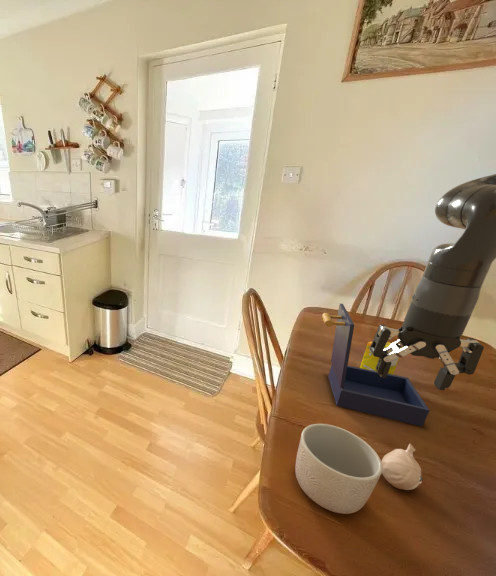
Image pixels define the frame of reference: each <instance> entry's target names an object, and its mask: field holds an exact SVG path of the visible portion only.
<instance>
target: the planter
mask: <svg viewBox="0 0 496 576" xmlns="http://www.w3.org/2000/svg"><path fill="white" fill-rule="evenodd" d="M381 461H382V459H381V458H380V456H379V455H378V453H377V452H376V450H375V449H374V448H373V447H372V446H371V445H370V444H369V443H368V442H367V441H365V440H364V439H362V438H361V437H359V436H358V435H356V434H354V433H353V432H351V431H349V430H347V429H344V428H342V427H339V426H337V425H332V424H328V423H312V424H309V425H307V426H306V427H304V428H303V430H302V432H301V435H300V440H299V444H298V449H297V452H296V459H295V467H294V469H295V477H296V480H297V483H298V484H299V486H300V488H301V489H302V491H303V493H304V494H305V495H306V496H307V497H309V499H310V500H312V502H313V503H315V504H317V505H318V506H320V507H321V508H324V510H327V511H330V512H331V513H332V512H333V513H336V514H340V515H341V514H342V515H350V514H354V513H357V512H358V511H360V510H361V509H362V508H363V507H364V506H365V505H366V504H367V502H368V500H369V499H370V497H371V495H372V494H373V492H374V489H375V488H376V486H377V483H378V481H379V479H380V478H381V476H382V475H383V474H382V470H383V466H382V462H381Z"/></svg>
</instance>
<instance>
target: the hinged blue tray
mask: <svg viewBox="0 0 496 576" xmlns="http://www.w3.org/2000/svg"><path fill="white" fill-rule="evenodd" d="M330 365H331V366H330V368H329V372H328V375H327V378H328V381H329V384H330V388H331V391H332V395H333V398H334V402H335V406H337V407H341V408H345V409H350V410H353V411H357V412H362V413H366V414H369V415H374V416H378V417H381V418H385V419H389V420H394V421H397V422H402V423H406V424H410V425H415V426H418V427H423V426H424V424H425V423H426V420H427V418H428V415H429V413H430V411H431V410H430V409H429V407H428V405H427V404H426V403H425V401H424V400H423V398H422V396H421V395H420V394H419V392H418V391H417V389H416V388H415V386H414V384H413V383H412V381H411V380H410V379H409V377H407V376H401V375H395V374H393V375H392V374H387V377H386V378H382V377H380V375H379V374H378V372H377V371H372V370H367V369H362V368H360V367H357V366H352V365H348V366H347V372H346V378H345V384H344V389H341V388H340V387H339V383H338V380H337V377H336V374H335V371H334V368H333V365H332V364H330Z"/></svg>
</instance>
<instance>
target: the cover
mask: <svg viewBox="0 0 496 576" xmlns="http://www.w3.org/2000/svg"><path fill="white" fill-rule="evenodd" d="M337 310H338V311H337V315H333V314H330V313H329V312H323V313H322V314H321V317H322V320H323V323H324V326H326V327H327V328H328V327H329V328H330V327H332V326H335V331H334V338H333V344H332V352H331V359H330V363H331V365H333V368H334V371H335V374H336V377H337V380H338V383H339V387H340V388H341V389H344V384H345V378H346V372H347V366H349V360H350V353H351V347H352V342H353V335H354V329H355V323H354V322H353V319H352V318H351V316H350V314H349V312H348V310H347V308H346V306H345V305H344V303H339V305H338V309H337ZM332 319H334V320H336V321H334V320H332Z"/></svg>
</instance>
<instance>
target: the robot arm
mask: <svg viewBox="0 0 496 576" xmlns="http://www.w3.org/2000/svg"><path fill="white" fill-rule="evenodd" d="M434 214H435V216H436V218H437V220H438V221H439V222H441V223H442V224H444V225H446V226H448V227H452V228H457V229H461V230H464V231H463V233H462V234H461V235H460V237H459V238H458V239H457V240H456V241H455V242H447V243H441V244H438V245H437V246H435V247H434V248H433V249H432V252H431V253H430V256H429V258H428V260H427V263H426V265H425V268H424V271H423V274H422V276H421V279H419V282H418V283H417V285H416V287H415V289H414V292H413V293H412V295H411V300H410V303H409V306H408V308H407V311H406V313H405V316H404V319H403V323H402V325H401V326H400V327H399V328H392V327H388V326H387V325H386V324H380V325H379V326H378V327H377V331H376V332H375V335H374V337H373V339H372V341H371V342H372V344H371V346H370V350H371V352H372V354H373V355H374V356H375V357H379V360H378V363H377V366H376V371H377V372H378V374H379V375H380V377H382V378H386V377H387V374H388V372H389V369H390V366H391V364H392V363H391V361H393V360H395V359H396V358H398V357H400V358H404V357H406V356H408V355H412V356H415V357H425V358H427V359H430V360H435V359H437V358H438V359H439V360H440V362H441V364H442V365H443V367H440V368H439V370H438V372H437V373H436V374H437V375H436V377H435V379H434V381H433V385H434V386H435V388H436V389H437V390H439V391H445V390H446V389H449V388H450V387H451V385H452V383H453V381H454V379H455V377H456V376H457V375H459V374H466V375H474V374H475V372H476V370H477V366H478V365H479V361H480V359H481V357H482V353H483V351H484V349H485V346H484V345H483V344H481V343H480V342H479V341H477V340H476V339H475V338H474V337H469V338H467V339H462V338H461V337H462V336H463V334H464V332H465V330H466V328H467V325H468V323H469V321H470V319H471V316H472V315H473V313H474V310H475V308H476V305H477V304H478V302H479V299H480V294H481V290H482V287H483V285H484V283H485V280H486V278H487V276H488V273H489V272H490V269H491V266H492V264H493V263H494V262H495V260H496V173H495V174H490V175H486V176H483V177H479V178H475V179H472V180H469V181H466V182H463V183H461V184H458V185H457V186H455V187H452V188H451V189H450V190H448V191H446V192H445V193H444V194H442V196H441V197H440V198H439V200H438V201H437V203H436V205H435V208H434ZM394 337H397V338H398V339H397V340H395V341H394V342H392V343H391V345H390V346H389V347H388V348H386V349H384V348H385V345H386V343H387V342H389V341H390V340H392V339H394ZM400 348H402V349H400ZM458 348H460V350H461V354H460V357H459V360H458V362H455V361H454V359H453V358H452V356H451V355H450V352H452V351H454V350H456V349H458Z"/></svg>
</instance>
